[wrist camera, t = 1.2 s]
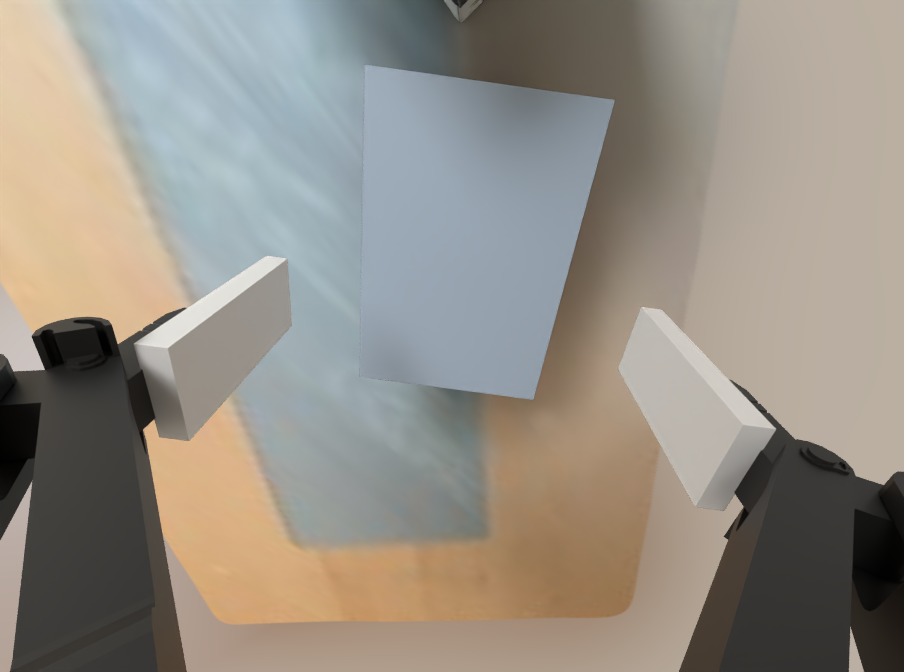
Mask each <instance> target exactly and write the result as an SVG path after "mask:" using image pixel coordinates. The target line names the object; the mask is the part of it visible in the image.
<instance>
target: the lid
mask: <svg viewBox="0 0 904 672" xmlns="http://www.w3.org/2000/svg"><path fill="white" fill-rule="evenodd" d="M614 102H615V100H612V99H605V98H598V97H591V96H584V95H577V94H570V93H562V92H555V91H548V90H541V89H534V88H527V87H520V86H513V85H506V84H499V83H492V82H485V81H477V80H470V79H463V78H456V77H449V76H442V75H435V74H428V73H421V72H414V71H407V70H400V69H392V68H385V67H378V66H371V65H365V73H364V132H363V191H362V250H361V309H360V368H359V377H364V378H372V379H380V380H387V381H395V382H402V383H410V384H417V385H425V386H432V387H440V388H448V389H455V390H463V391H470V392H478V393H485V394H493V395H500V396H508V397H516V398H523V399H531V400H533V399H534V395H535V392H536V388H537V384H538V381H539V377H540V373H541V370H542V366H543V362H544V359H545V355H546V351H547V348H548V344H549V340H550V337H551V333H552V329H553V326H554V322H555V318H556V315H557V311H558V307H559V304H560V300H561V296H562V293H563V289H564V285H565V282H566V278H567V274H568V271H569V267H570V263H571V260H572V256H573V252H574V249H575V245H576V241H577V238H578V234H579V230H580V227H581V223H582V219H583V216H584V212H585V208H586V205H587V201H588V197H589V194H590V190H591V186H592V183H593V179H594V175H595V172H596V168H597V164H598V161H599V157H600V153H601V150H602V146H603V142H604V139H605V135H606V131H607V128H608V124H609V120H610V117H611V113H612V109H613V106H614Z"/></svg>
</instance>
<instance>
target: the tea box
mask: <svg viewBox="0 0 904 672" xmlns="http://www.w3.org/2000/svg"><path fill="white" fill-rule="evenodd" d="M482 1H483V0H444V2H445V3H446V5H447V6H448V7H449V9H450V10H451V12H452V13H453V15H454V16H455V18H456V19H457V20H458V21H459V22H463V21H464V20H465V19H466V18H467V17H468V16H469V15H470V14H471V13H472V12H473V11H474V10H475V9H476V8H477V7H478V6H479V5H480V3H481V2H482Z"/></svg>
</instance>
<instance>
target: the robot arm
mask: <svg viewBox="0 0 904 672" xmlns="http://www.w3.org/2000/svg"><path fill="white" fill-rule="evenodd" d="M291 326H292V321H291V306H290V291H289V276H288V261H287V259H285V258H278V257H271V256H266V257H264V258H263V259H261V260H260V261H258V262H257V263H255V264H254V265H252V266H251V267H249V268H247V269H246V270H244V271H243V272H241V273H240V274H238V275H237V276H235V277H234V278H232V279H231V280H229V281H228V282H226V283H225V284H223V285H222V286H220V287H219V288H217V289H216V290H214V291H213V292H211V293H210V294H208V295H207V296H205V297H204V298H202V299H200V300H199V301H197V302H196V303H194V304H193V305H191V306H190V307H188V308H182V309H179V310H176V311H173V312H170V313H167V314H165V315H164V316H162V317H161V318H159V319H157V320H156V321H154V322H153V324H150V325H148V326H146V327H145V328H143V330H142V331H138V332H137V333H135V334H134V335H132V336H131V337H129V338H127V339H126V340H124V341H123V342H121V343H120V344H117V341H116V338H115V334H114V331H113V328H112V325H111V323H110V322H109V321H108V320H105V319H102V318H96V317H79V318H70V319H65V320H60V321H57V322H54V323H51V324H48V325H45V326H43V327H41V328H40V329H38V330H36V331H35V332H34V334H33V335H32V339H33V341H34V344H35V346H36V348H37V351H38V353H39V356H40V358H41V361H42V363H43V366H44V368H45V370H39V371H17V372H13V370H12V368H11V366H10V364H9V361H8V359H7V358H6V357H5V356H4V355H2V354H0V540H1V538H2V536H3V534H4V532H5V530H6V529H7V527H8V525H9V523H10V521H11V519H12V517H13V515H14V514H15V512H16V510H17V508H18V506H19V504H20V502H21V500H22V498H23V497H24V495H25V493H26V491H27V489H28V487H29V485H30V483H31V482H32V490H31V500H30V508H29V517H28V527H27V535H26V544H25V553H24V562H23V571H22V579H21V588H20V598H19V607H18V615H17V624H16V633H15V643H14V651H13V660H12V665H11V670H10V672H187V671H186V665H185V660H184V654H183V648H182V643H181V637H180V631H179V626H178V620H177V614H176V609H175V603H174V597H173V592H172V586H171V580H170V575H169V569H168V563H167V557H166V552H165V546H164V540H163V534H162V529H161V523H160V517H159V512H158V506H157V500H156V494H155V489H154V483H153V477H152V472H151V466H150V460H149V455H148V449H147V443H146V439H145V435H144V432H143V429H144V428H145V427H146V426H147V425H148V424H149V423H150V422H152V421H153V420H155V423H156V427H157V431H158V434H159V437H162V438H170V439H178V440H185V441H190V440H191V438H192V437H193V436H194V435H195V434H196V433H197V432H198V431H199V429H200V428H201V427H202V426H203V425H204V424H205V423H206V422H207V420H208V419H209V418H210V417H211V416H212V415H213V414H214V413H215V411H216V410H217V409H218V408H219V407H220V406H221V405H222V404H223V402H224V401H225V400H226V399H227V398H228V397H229V396H230V395H231V393H232V392H233V391H234V390H235V389H236V388H237V387H238V386H239V384H240V383H241V382H242V381H243V380H244V379H245V378H246V377H247V375H248V374H249V373H250V372H251V371H252V370H253V369H254V368H255V366H256V365H257V364H258V363H259V362H260V361H261V360H262V359H263V357H264V356H265V355H266V354H267V353H268V352H269V351H270V350H271V348H272V347H273V346H274V345H275V344H276V343H277V342H278V341H279V339H280V338H281V337H282V336H283V335H284V334H285V333H286V332H287V330H288V329H289V328H290V327H291ZM618 370H619V372H620V374H621V376H622V377H623V379H624V381H625V383H626V385H627V386H628V388H629V390H630V392H631V394H632V395H633V397H634V399H635V401H636V403H637V404H638V406H639V408H640V410H641V411H642V413H643V415H644V417H645V419H646V420H647V422H648V424H649V426H650V428H651V429H652V431H653V433H654V435H655V437H656V438H657V440H658V442H659V444H660V445H661V447H662V449H663V451H664V452H665V454H666V456H667V458H668V460H669V462H670V463H671V465H672V467H673V469H674V470H675V472H676V474H677V476H678V478H679V479H680V481H681V483H682V485H683V487H684V488H685V490H686V492H687V494H688V496H689V497H690V499H691V501H692V503H693V504H694V506H695V507H698V508H705V509H713V510H720V511H724V510H725V509H726V507H727V505H728V504H729V503H730V501H731V499H732V498H733V496H734V495H735V494H736V496H737V497H738V499H739V500H740V502H741V503H742V505H743V506H744V507H743V509H742V510H741V512H740V513H739V515H738V517H737V518H736V519H735V521H734V522H733V524H732V525H731V527H730V528H729V530H728V531H727V533H726V534H725V536H724V537H725V538H727V539H728V542H727V545H726V548H725V550H724V553H723V556H722V559H721V561H720V564H719V566H718V569H717V572H716V574H715V577H714V580H713V582H712V585H711V588H710V590H709V593H708V596H707V598H706V601H705V604H704V606H703V609H702V612H701V614H700V617H699V620H698V622H697V625H696V628H695V630H694V633H693V636H692V638H691V641H690V644H689V647H688V649H687V652H686V654H685V657H684V660H683V662H682V665H681V668H680V670H679V672H849V646H850V626H851V629H852V633H853V636H854V639H855V642H856V646H857V649H858V653H859V656H860V659H861V663H862V666H863V669H864V672H904V472H896V473H895V474H893V475H892V477H891V478H890V479H889V480H888V481H887V482H886V484H885V485H881V484H878V483H875V482H872V481H869V480H865V479H862V478H859V477H856V476H855V473H854V471H853V469H852V468H851V467H850V466H849V465H848V464H847V463H846V461H844V460H843V459H841V458H840V457H839V456H837V455H836V454H835V453H833V452H831V451H829V450H827V449H825V448H823V447H822V446H819V445H816V444H813V443H811V442H808V441H803V440H798V439H797V440H795V439H794V438H793V437H792V436H791V435H790V434H789V433H788V432H787V431H786V430H785V429H784V428H783V427H782V426H781V425H780V424H779V423H778V422H777V421H776V420H775V419H774V418H773V417H772V416H771V415H770V414H769V413H767V410H765V408H764V407H763V406H762V405H761V404H758V402H757V400H755V398H754V397H753V396H752V395H751V394H750V393H749V392H748V391H747V390H745V389H744V388H742V387H741V386H739V385H738V384H736V383H735V382H733V381H732V380H729V379H728V378H727V377H726V376H725V375H724V374H723V373H722V372H721V371H720V370H719V369H718V368H717V367H716V366H715V365H714V364H713V363H712V362H711V361H710V360H709V359H708V358H707V356H705V354H704V353H703V352H702V351H701V350H700V349H699V348H698V347H697V346H696V345H695V344H694V343H693V342H692V341H691V340H690V339H689V338H688V337H687V336H686V335H685V334H684V332H683V331H682V330H681V329H680V328H679V327H678V326H677V325H676V324H675V323H674V322H673V321H672V320H671V319H670V318H669V317H668V316H667V315H666V314H665V313H664V312H663V311H662V310H661V309H653V308H646V307H641V309H640V311H639V314H638V317H637V319H636V322H635V325H634V327H633V330H632V333H631V336H630V338H629V341H628V344H627V346H626V349H625V352H624V354H623V357H622V360H621V362H620V365H619V368H618ZM32 480H33V481H32Z"/></svg>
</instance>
